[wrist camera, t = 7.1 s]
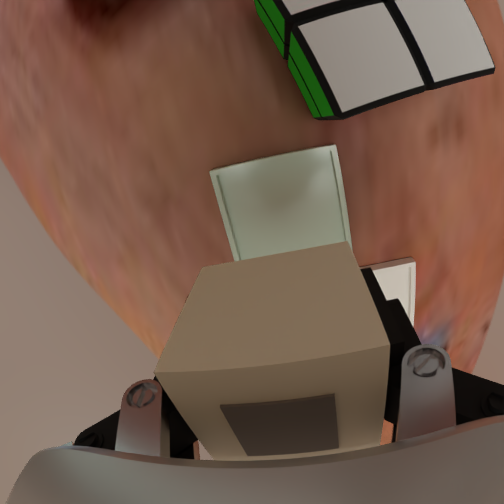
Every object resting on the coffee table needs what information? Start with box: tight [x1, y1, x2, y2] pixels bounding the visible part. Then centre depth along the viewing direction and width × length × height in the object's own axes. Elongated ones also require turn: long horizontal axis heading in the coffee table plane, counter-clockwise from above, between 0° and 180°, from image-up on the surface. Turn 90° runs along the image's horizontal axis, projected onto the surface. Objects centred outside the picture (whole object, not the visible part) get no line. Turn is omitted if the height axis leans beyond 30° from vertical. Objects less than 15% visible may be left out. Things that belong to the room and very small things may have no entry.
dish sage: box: [209, 144, 353, 261], centre depth 24 cm, size 9×9×1 cm
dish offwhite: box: [359, 257, 416, 326], centre depth 27 cm, size 9×9×1 cm
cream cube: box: [154, 241, 390, 461], centre depth 9 cm, size 5×5×5 cm
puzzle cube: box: [254, 0, 495, 120], centre depth 14 cm, size 10×10×10 cm
